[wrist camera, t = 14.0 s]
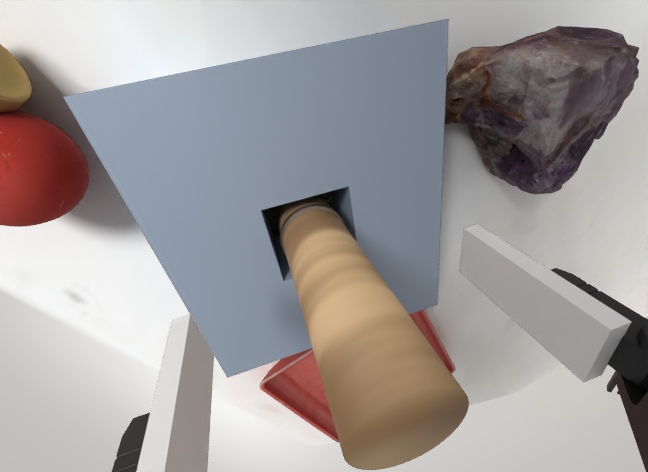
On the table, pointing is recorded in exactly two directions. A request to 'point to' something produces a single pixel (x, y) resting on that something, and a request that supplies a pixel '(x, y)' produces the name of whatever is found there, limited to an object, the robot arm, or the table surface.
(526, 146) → the rock
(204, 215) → the board
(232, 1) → the table surface
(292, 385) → the plant saucer
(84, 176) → the kendama
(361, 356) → the peg
